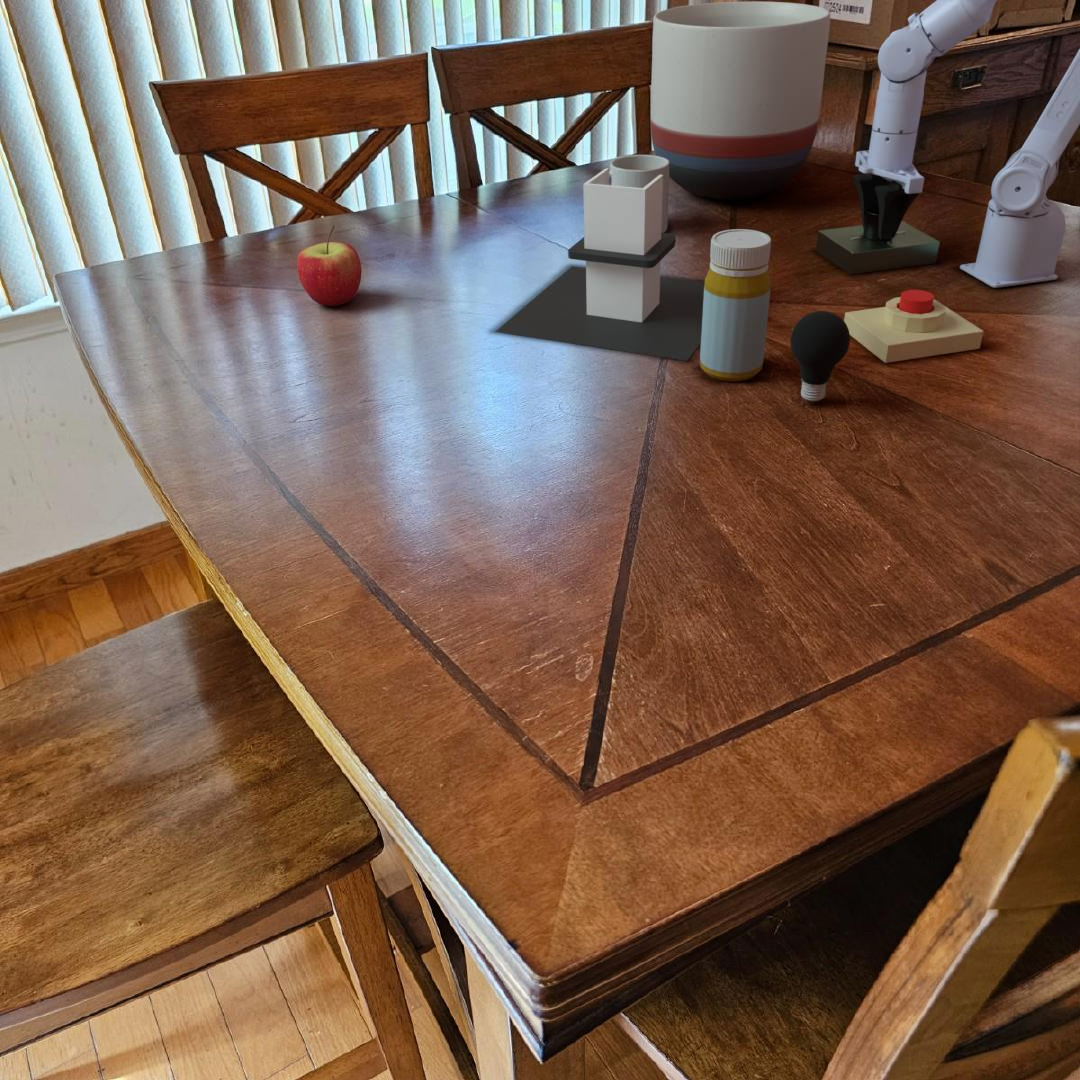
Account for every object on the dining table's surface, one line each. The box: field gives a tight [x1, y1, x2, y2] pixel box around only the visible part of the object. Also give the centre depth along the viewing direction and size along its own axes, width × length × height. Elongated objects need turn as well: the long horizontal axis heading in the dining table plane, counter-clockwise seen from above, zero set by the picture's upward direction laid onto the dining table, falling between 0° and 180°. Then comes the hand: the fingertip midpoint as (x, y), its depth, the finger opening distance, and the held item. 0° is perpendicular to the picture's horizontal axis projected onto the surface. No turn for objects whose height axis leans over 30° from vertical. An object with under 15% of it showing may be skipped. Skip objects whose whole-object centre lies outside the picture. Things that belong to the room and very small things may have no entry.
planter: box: [649, 1, 831, 201], centre depth 159 cm, size 27×27×27 cm
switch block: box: [843, 296, 984, 364], centre depth 115 cm, size 12×10×4 cm
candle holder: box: [495, 167, 705, 362], centre depth 123 cm, size 25×24×16 cm
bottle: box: [699, 228, 772, 382], centre depth 107 cm, size 7×7×15 cm
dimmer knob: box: [863, 206, 891, 240], centre depth 136 cm, size 4×4×4 cm
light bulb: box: [789, 310, 851, 404], centre depth 102 cm, size 6×6×10 cm
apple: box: [296, 225, 362, 307], centre depth 130 cm, size 8×8×10 cm
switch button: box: [899, 289, 935, 314], centre depth 114 cm, size 4×4×2 cm
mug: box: [609, 154, 670, 233], centre depth 150 cm, size 11×10×10 cm
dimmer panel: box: [815, 220, 941, 276], centre depth 138 cm, size 13×10×3 cm
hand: (878, 232), depth 137 cm, fingers closed on dimmer knob, 4 cm apart
